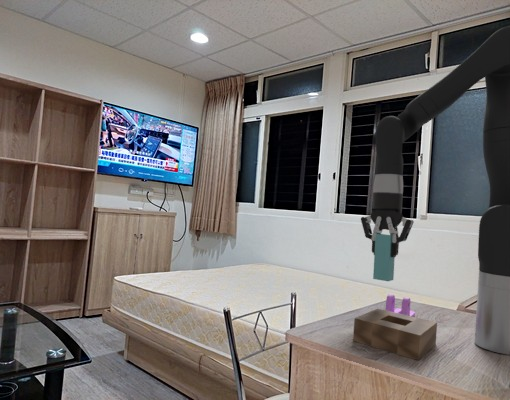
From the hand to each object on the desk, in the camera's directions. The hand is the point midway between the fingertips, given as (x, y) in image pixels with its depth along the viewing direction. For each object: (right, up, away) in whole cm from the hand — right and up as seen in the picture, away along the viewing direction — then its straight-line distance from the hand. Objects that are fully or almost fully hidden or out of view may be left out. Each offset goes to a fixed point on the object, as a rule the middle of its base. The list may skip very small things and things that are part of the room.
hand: (384, 255), depth 99 cm
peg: (0, -6, 0) cm, 6 cm away
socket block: (-3, -18, -15) cm, 23 cm away
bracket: (+7, -19, +8) cm, 22 cm away
